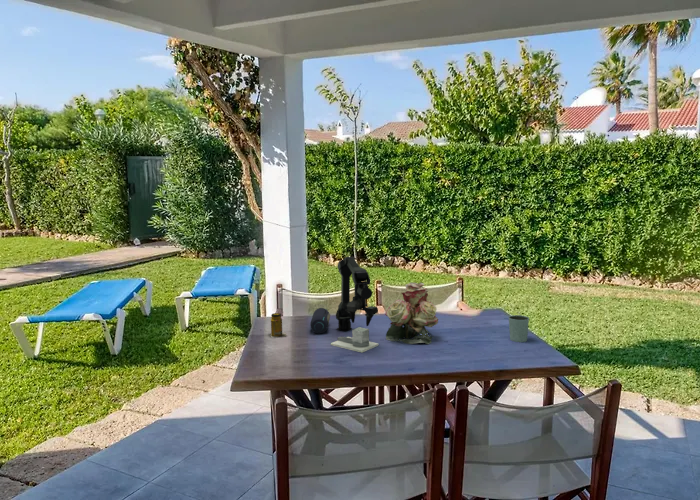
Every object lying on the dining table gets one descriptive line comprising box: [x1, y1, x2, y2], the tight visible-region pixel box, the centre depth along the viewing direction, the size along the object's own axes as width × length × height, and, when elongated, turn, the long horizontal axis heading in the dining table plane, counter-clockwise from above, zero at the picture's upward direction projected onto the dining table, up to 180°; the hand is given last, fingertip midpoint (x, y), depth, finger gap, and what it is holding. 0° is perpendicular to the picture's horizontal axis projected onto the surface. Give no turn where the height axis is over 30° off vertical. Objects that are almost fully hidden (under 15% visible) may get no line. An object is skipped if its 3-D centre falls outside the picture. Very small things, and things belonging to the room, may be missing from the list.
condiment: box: [269, 312, 288, 338], centre depth 292 cm, size 7×8×12 cm
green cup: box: [508, 314, 530, 343], centre depth 279 cm, size 10×10×12 cm
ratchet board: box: [330, 336, 379, 354], centre depth 273 cm, size 20×14×6 cm
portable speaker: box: [309, 307, 331, 334], centre depth 304 cm, size 25×10×10 cm, turn 179°
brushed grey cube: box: [351, 326, 370, 343], centre depth 271 cm, size 6×6×6 cm
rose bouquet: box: [384, 281, 439, 345], centre depth 283 cm, size 26×29×30 cm
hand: (360, 324), depth 274 cm, fingers open, 9 cm apart
